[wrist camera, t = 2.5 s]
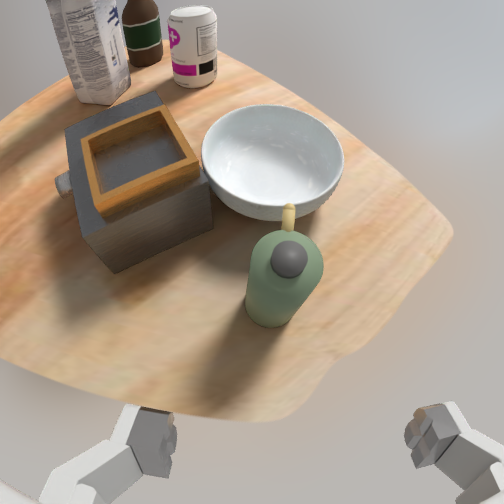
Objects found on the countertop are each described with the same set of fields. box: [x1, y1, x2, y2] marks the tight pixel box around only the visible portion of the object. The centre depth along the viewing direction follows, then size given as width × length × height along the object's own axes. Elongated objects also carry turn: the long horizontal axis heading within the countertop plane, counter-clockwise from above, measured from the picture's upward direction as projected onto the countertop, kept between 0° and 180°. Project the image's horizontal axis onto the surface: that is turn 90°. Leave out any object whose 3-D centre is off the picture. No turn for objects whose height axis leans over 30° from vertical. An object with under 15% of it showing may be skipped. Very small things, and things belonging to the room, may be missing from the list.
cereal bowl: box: [201, 104, 344, 221], centre depth 36 cm, size 17×17×7 cm
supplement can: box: [168, 5, 217, 88], centre depth 43 cm, size 8×8×15 cm
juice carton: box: [46, 0, 131, 105], centre depth 35 cm, size 9×10×27 cm
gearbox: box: [55, 91, 213, 274], centre depth 32 cm, size 16×18×11 cm
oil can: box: [245, 203, 323, 328], centre depth 27 cm, size 8×6×12 cm
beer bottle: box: [122, 0, 163, 67], centre depth 43 cm, size 8×8×24 cm
